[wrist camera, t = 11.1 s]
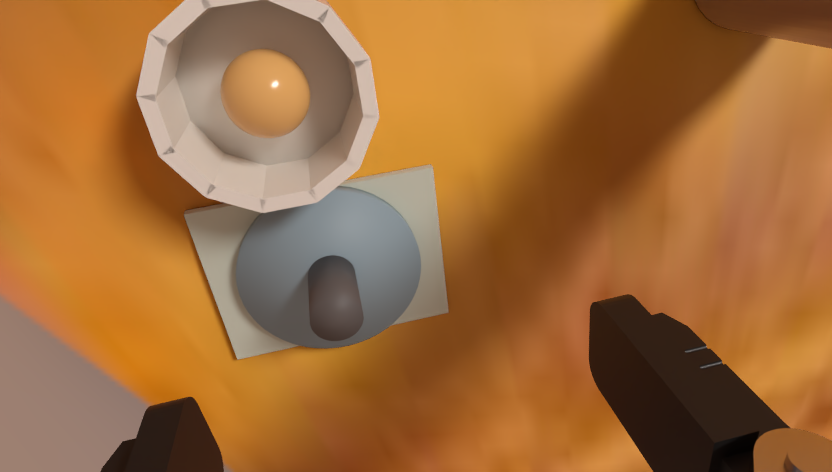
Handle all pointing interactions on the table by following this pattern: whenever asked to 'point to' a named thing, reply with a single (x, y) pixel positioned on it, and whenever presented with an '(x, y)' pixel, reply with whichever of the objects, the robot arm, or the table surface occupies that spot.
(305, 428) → the table surface
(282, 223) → the lid
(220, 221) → the mat
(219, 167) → the bowl
